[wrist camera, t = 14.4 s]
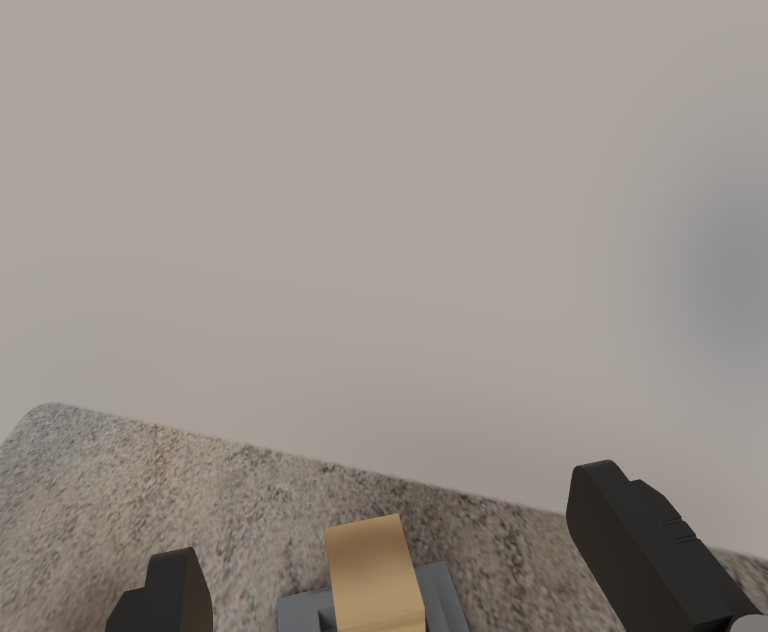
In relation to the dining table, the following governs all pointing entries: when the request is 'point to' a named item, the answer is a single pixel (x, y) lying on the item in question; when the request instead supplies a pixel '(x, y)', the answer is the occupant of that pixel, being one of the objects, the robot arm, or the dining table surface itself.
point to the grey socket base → (317, 612)
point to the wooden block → (373, 577)
